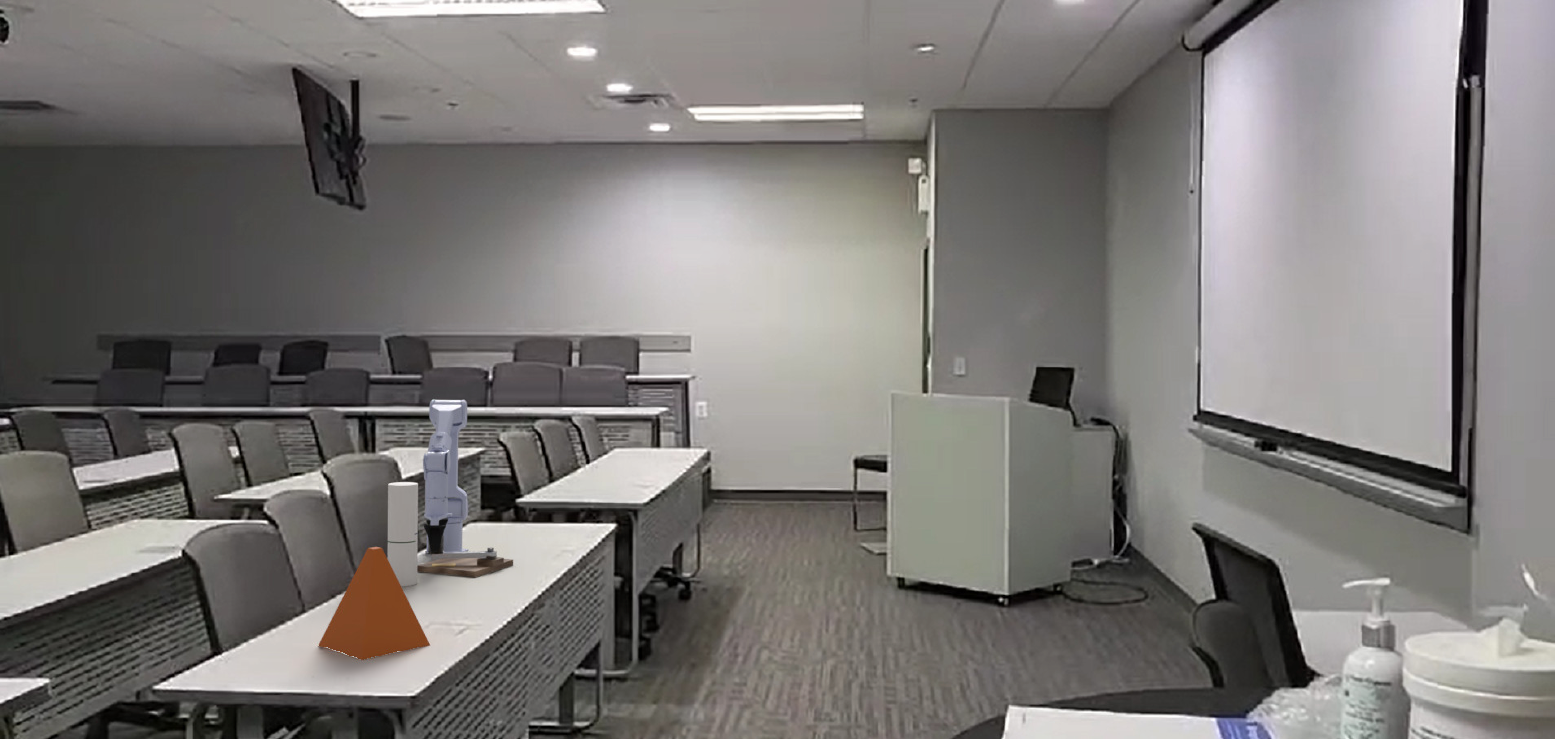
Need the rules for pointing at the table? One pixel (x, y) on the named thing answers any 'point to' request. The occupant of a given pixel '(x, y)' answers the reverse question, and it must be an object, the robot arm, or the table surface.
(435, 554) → the lever
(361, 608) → the pyramid
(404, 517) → the cylindrical container
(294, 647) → the table surface
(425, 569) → the cracker board
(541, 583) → the table surface
